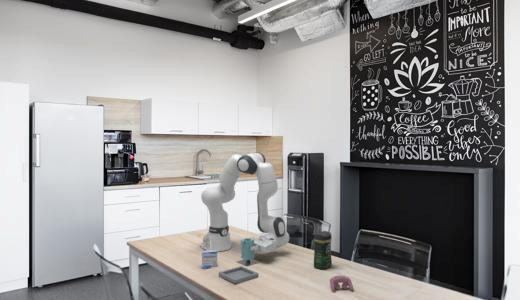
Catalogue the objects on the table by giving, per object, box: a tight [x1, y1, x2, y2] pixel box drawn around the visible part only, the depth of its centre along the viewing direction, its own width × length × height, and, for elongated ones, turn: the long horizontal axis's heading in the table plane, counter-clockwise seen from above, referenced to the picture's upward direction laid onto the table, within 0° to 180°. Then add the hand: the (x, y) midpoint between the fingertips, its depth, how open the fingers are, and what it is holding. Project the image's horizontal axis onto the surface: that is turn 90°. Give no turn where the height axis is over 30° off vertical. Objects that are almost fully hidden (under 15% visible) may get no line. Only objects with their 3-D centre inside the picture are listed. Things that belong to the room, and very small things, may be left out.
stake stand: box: [236, 258, 262, 268], centre depth 197 cm, size 10×10×5 cm
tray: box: [218, 265, 259, 285], centre depth 177 cm, size 14×14×2 cm
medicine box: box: [201, 250, 218, 270], centre depth 192 cm, size 8×4×9 cm, turn 105°
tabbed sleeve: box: [240, 237, 255, 260], centre depth 196 cm, size 5×6×10 cm
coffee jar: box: [313, 230, 333, 270], centre depth 189 cm, size 10×8×19 cm
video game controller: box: [329, 275, 354, 293], centre depth 160 cm, size 10×5×7 cm, turn 93°
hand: (246, 247), depth 196 cm, fingers closed on tabbed sleeve, 5 cm apart
